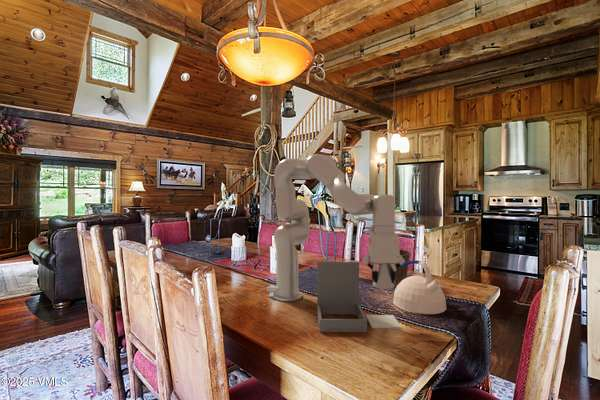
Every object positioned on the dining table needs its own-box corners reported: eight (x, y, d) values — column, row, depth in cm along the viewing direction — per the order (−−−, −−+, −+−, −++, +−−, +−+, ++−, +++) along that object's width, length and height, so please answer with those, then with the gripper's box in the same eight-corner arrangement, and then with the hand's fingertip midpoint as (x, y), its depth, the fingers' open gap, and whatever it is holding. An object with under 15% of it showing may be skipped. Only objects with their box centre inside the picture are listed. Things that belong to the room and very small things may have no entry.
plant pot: (415, 288, 147) (415, 254, 146) (381, 288, 147) (381, 254, 147) (404, 279, 163) (404, 248, 163) (373, 278, 163) (373, 248, 163)
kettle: (418, 318, 113) (418, 269, 112) (382, 300, 132) (383, 257, 131) (459, 310, 120) (459, 264, 120) (420, 294, 140) (420, 254, 139)
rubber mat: (371, 328, 104) (371, 326, 104) (365, 316, 114) (365, 315, 114) (401, 328, 104) (401, 327, 104) (393, 316, 114) (393, 315, 114)
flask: (382, 291, 104) (382, 261, 104) (368, 285, 110) (368, 257, 110) (398, 288, 107) (398, 259, 107) (383, 282, 114) (384, 255, 114)
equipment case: (319, 331, 102) (319, 272, 101) (317, 312, 118) (317, 261, 118) (367, 332, 102) (367, 272, 101) (358, 312, 118) (358, 261, 117)
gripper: (361, 231, 105) (361, 285, 105) (411, 231, 105) (411, 284, 105) (357, 228, 112) (357, 278, 113) (404, 228, 112) (404, 278, 113)
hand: (383, 281), depth 109 cm, fingers closed on flask, 5 cm apart
